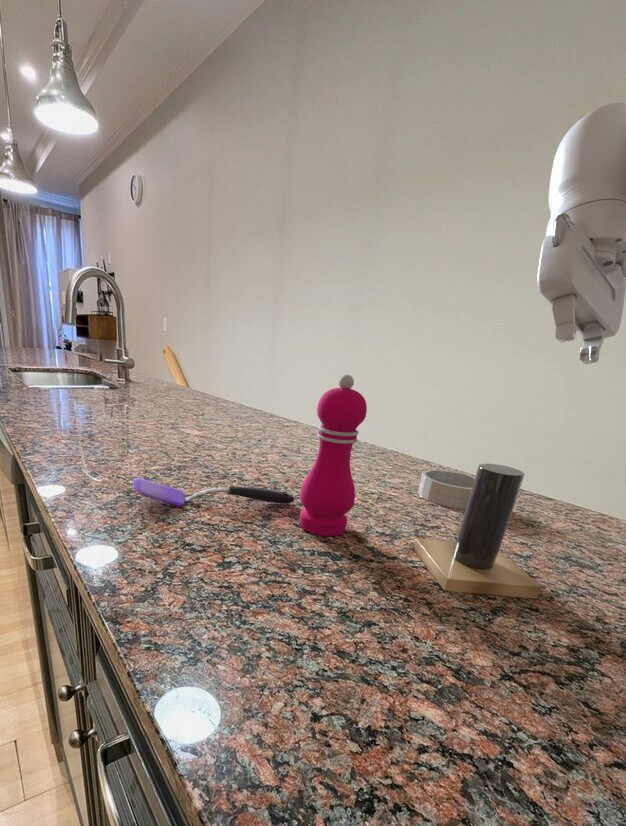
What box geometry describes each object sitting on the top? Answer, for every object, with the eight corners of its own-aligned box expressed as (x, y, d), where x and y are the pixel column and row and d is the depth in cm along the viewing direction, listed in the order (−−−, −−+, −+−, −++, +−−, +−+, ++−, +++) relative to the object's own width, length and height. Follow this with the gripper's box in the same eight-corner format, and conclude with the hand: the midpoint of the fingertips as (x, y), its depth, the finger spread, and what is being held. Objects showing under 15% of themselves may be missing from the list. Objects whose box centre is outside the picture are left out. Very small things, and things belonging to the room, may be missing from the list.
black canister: (482, 553, 54) (510, 465, 50) (501, 571, 50) (533, 477, 46) (446, 550, 54) (471, 461, 50) (462, 568, 50) (491, 473, 45)
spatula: (288, 496, 71) (290, 481, 70) (299, 512, 65) (301, 496, 64) (134, 491, 67) (134, 475, 66) (130, 508, 61) (130, 491, 60)
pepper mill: (310, 512, 65) (332, 370, 58) (356, 527, 62) (387, 377, 54) (285, 526, 60) (306, 371, 52) (334, 543, 56) (365, 379, 49)
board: (490, 555, 57) (494, 544, 56) (536, 599, 48) (541, 586, 47) (412, 548, 57) (415, 538, 56) (444, 590, 48) (447, 578, 47)
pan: (464, 493, 81) (470, 472, 79) (492, 515, 71) (500, 491, 70) (408, 488, 81) (413, 467, 79) (429, 509, 71) (435, 485, 70)
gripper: (590, 191, 49) (581, 315, 49) (636, 268, 61) (629, 367, 61) (526, 218, 54) (518, 331, 54) (580, 285, 66) (574, 377, 66)
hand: (577, 351), depth 57 cm, fingers open, 8 cm apart
